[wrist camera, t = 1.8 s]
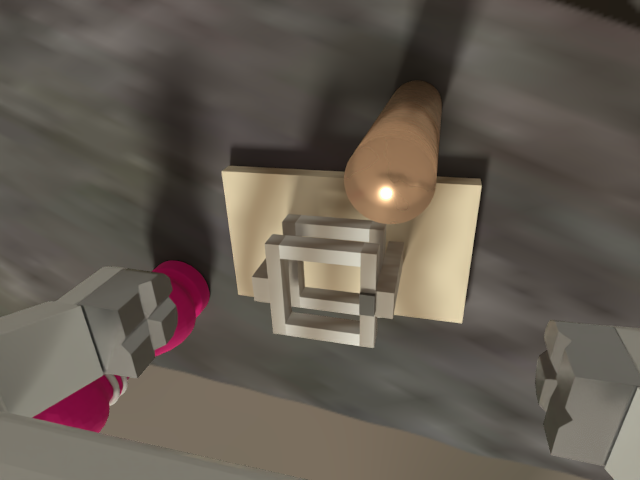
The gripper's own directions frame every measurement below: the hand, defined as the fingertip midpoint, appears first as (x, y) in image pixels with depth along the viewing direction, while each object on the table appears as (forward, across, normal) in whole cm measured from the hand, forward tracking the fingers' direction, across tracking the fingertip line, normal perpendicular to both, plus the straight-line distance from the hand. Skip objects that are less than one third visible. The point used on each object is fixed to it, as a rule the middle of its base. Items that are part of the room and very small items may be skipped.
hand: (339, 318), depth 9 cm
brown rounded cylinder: (+25, 0, 0) cm, 25 cm away
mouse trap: (+25, +5, +11) cm, 28 cm away
